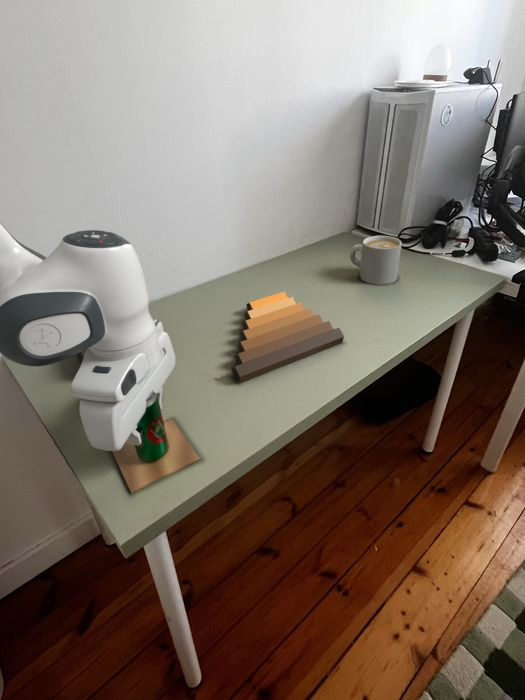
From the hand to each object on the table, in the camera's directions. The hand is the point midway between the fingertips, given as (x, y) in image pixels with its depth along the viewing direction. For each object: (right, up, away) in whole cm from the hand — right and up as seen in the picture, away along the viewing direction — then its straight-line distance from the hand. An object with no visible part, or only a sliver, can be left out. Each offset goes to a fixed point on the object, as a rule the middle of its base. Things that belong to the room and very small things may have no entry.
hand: (146, 426), depth 66 cm
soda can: (0, -5, +3) cm, 6 cm away
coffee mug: (+49, +32, +55) cm, 80 cm away
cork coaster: (0, -5, +3) cm, 6 cm away
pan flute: (+18, +14, +31) cm, 39 cm away
